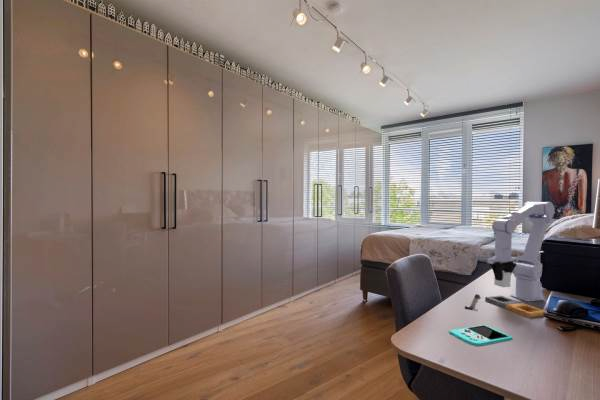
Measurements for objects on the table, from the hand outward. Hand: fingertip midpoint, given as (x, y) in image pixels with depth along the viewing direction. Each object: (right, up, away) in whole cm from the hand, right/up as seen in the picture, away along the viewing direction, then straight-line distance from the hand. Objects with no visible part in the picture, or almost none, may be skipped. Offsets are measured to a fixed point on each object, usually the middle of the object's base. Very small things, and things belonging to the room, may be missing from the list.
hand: (502, 279), depth 127 cm
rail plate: (+1, -10, -5) cm, 11 cm away
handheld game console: (-28, -11, -31) cm, 43 cm away
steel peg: (0, -3, 0) cm, 2 cm away
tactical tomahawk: (-11, -10, -1) cm, 15 cm away
